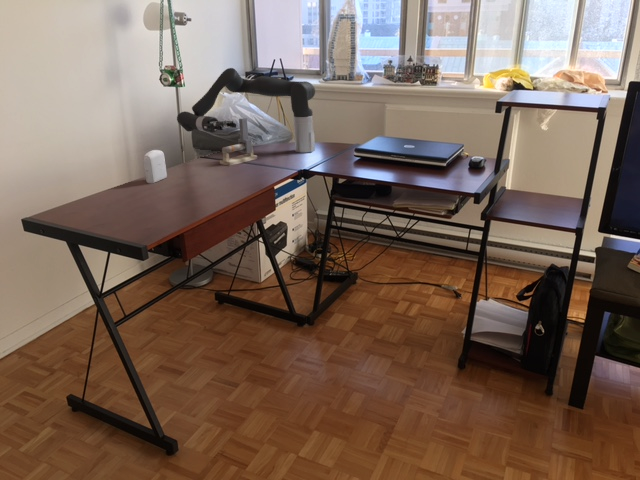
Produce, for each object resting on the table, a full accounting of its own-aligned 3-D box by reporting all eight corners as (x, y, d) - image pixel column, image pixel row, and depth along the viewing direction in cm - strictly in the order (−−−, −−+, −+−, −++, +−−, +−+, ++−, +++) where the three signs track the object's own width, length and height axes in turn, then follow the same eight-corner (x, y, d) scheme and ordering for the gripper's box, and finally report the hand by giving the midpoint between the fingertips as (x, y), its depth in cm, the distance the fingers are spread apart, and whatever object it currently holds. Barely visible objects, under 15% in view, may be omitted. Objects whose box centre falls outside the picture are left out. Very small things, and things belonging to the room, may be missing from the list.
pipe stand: (247, 157, 262) (246, 140, 259) (257, 158, 258) (256, 141, 255) (219, 163, 250) (218, 146, 247) (230, 165, 246) (228, 148, 243)
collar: (243, 150, 259) (241, 117, 253) (252, 152, 255) (249, 118, 249) (238, 151, 256) (236, 118, 251) (247, 153, 253) (244, 119, 247)
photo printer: (153, 183, 219) (149, 153, 215) (145, 183, 220) (140, 153, 216) (168, 177, 228) (165, 148, 224) (160, 177, 229) (156, 147, 225)
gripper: (194, 118, 262) (216, 120, 252) (217, 114, 272) (239, 116, 262) (196, 133, 264) (218, 137, 254) (219, 129, 274) (240, 132, 264)
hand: (229, 126), depth 258 cm, fingers open, 8 cm apart
